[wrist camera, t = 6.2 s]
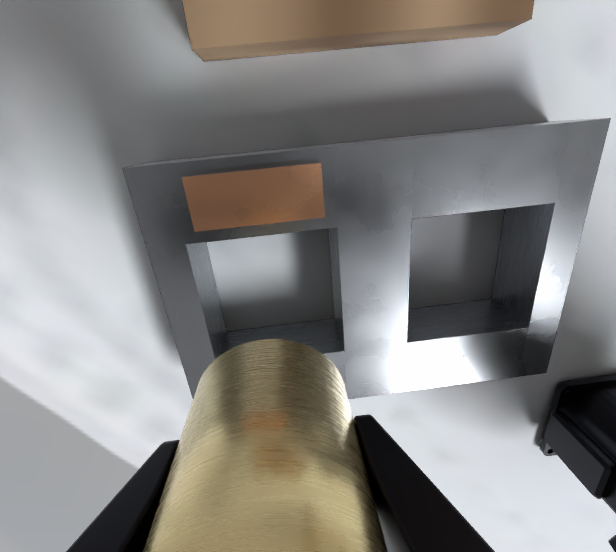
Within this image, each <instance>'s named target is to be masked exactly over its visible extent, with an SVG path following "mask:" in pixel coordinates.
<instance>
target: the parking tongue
mask: <svg viewBox="0 0 616 552" xmlns="http://www.w3.org/2000/svg"><path fill="white" fill-rule="evenodd" d="M182 2H183V7H184V12H185V17H186V22H187V27H188V33H189V38H190V43H191V48H192V50H193V51H194V52H195V53H196V54H197V55H198V56H199V57H200V58H201V59H202V60H203V61H216V60H227V59H238V58H249V57H260V56H271V55H282V54H293V53H304V52H315V51H326V50H337V49H348V48H360V47H371V46H382V45H393V44H404V43H415V42H426V41H437V40H448V39H459V38H470V37H481V36H492V35H498V34H500V33H502V32H505V31H507V30H509V29H511V28H513V27H515V26H517V25H520V24H522V23H524V22H526V21H528V20H530V19H532V12H533V5H534V0H182Z"/></svg>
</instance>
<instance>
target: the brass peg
mask: <svg viewBox="0 0 616 552" xmlns="http://www.w3.org/2000/svg"><path fill="white" fill-rule="evenodd" d="M143 552H388V550H387V546H386V543H385V539H384V535H383V531H382V527H381V523H380V520H379V516H378V512H377V508H376V504H375V500H374V497H373V493H372V489H371V485H370V481H369V478H368V474H367V470H366V466H365V463H364V459H363V455H362V451H361V447H360V443H359V440H358V436H357V432H356V428H355V424H354V420H353V416H352V412H351V408H350V405H349V401H348V397H347V393H346V389H345V385H344V382H343V379H342V376H341V375H340V373H339V371H338V369H337V368H336V366H335V365H334V364H333V363H332V362H331V361H330V360H329V359H328V358H327V357H326V356H325V355H323V354H322V353H321V352H319V351H317V350H315V349H314V348H312V347H309V346H307V345H305V344H302V343H298V342H295V341H289V340H283V339H264V340H257V341H251V342H248V343H244V344H241V345H239V346H236V347H234V348H232V349H230V350H228V351H226V352H225V353H223V354H222V355H220V356H219V357H218V358H216V359H215V360H214V361H213V362H212V363H211V364H210V365H209V366H208V368H207V369H206V370H205V372H204V373H203V375H202V377H201V379H200V381H199V384H198V387H197V390H196V393H195V396H194V399H193V402H192V405H191V408H190V411H189V414H188V417H187V420H186V423H185V426H184V429H183V432H182V435H181V438H180V441H179V444H178V447H177V450H176V454H175V457H174V460H173V463H172V466H171V469H170V472H169V475H168V478H167V481H166V484H165V487H164V490H163V493H162V496H161V499H160V502H159V505H158V508H157V511H156V514H155V517H154V520H153V523H152V526H151V529H150V532H149V535H148V538H147V541H146V544H145V547H144V550H143Z"/></svg>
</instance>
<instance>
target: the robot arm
mask: <svg viewBox="0 0 616 552" xmlns="http://www.w3.org/2000/svg"><path fill="white" fill-rule="evenodd" d="M354 424H355V428H356V432H357V436H358V440H359V443H360V447H361V451H362V455H363V459H364V463H365V466H366V470H367V474H368V478H369V481H370V485H371V489H372V493H373V497H374V500H375V504H376V508H377V512H378V516H379V520H380V523H381V527H382V531H383V535H384V539H385V543H386V546H387V550H388V552H495V551H494V550H493V549H492V548H491V547H490V546H489V545H488V544H487V542H486V541H485V540H484V539H483V538H482V537H481V536H480V535H479V534H478V532H477V531H476V530H475V529H474V528H473V527H472V526H471V525H470V524H469V523H468V521H467V520H466V519H465V518H464V517H463V516H462V515H461V514H460V513H459V511H458V510H457V509H456V508H455V507H454V506H453V505H452V504H451V503H450V502H449V500H448V499H447V498H446V497H445V496H444V495H443V494H442V493H441V492H440V490H439V489H438V488H437V487H436V486H435V485H434V484H433V483H432V482H431V480H430V479H429V478H428V477H427V476H426V475H425V474H424V473H423V472H422V471H421V469H420V468H419V467H418V466H417V465H416V464H415V463H414V462H413V461H412V459H411V458H410V457H409V456H408V455H407V454H406V453H405V452H404V451H403V449H402V448H401V447H400V446H399V445H398V444H397V443H396V442H395V441H394V440H393V438H392V437H391V436H390V435H389V434H388V433H387V432H386V431H385V430H384V428H383V427H382V426H381V425H380V424H379V423H378V422H377V421H376V420H375V419H374V417H373V416H371V415H361V416H356V417H355V418H354ZM179 441H180V440H174V441H167V442H164V443H162V444H161V445H160V446H159V447H158V448H157V449H156V451H155V452H154V453H153V454H152V455H151V456H150V457H149V458H148V460H147V461H146V462H145V463H144V464H143V465H142V466H141V468H140V469H139V470H138V471H137V472H136V473H135V474H134V476H133V477H132V478H131V479H130V480H129V481H128V482H127V483H126V484H125V486H124V487H123V488H122V489H121V490H120V491H119V493H118V494H117V495H116V496H115V497H114V498H113V499H112V500H111V501H110V503H109V504H108V505H107V506H106V507H105V508H104V509H103V511H102V512H101V513H100V514H99V515H98V516H97V517H96V518H95V520H94V521H93V522H92V523H91V524H90V525H89V526H88V527H87V529H86V530H85V531H84V532H83V533H82V534H81V536H80V537H79V538H78V539H77V540H76V541H75V542H74V543H73V544H72V546H71V547H70V548H69V549H68V550H67V551H66V552H143V550H144V547H145V544H146V541H147V538H148V535H149V532H150V529H151V526H152V523H153V520H154V517H155V514H156V511H157V508H158V505H159V502H160V499H161V496H162V493H163V490H164V487H165V484H166V481H167V478H168V475H169V472H170V469H171V466H172V463H173V460H174V457H175V454H176V450H177V447H178V444H179ZM540 450H541V451H542V452H543V453H544V455H546V456H552V455H558V456H559V458H560V459H561V460H562V461H563V462H564V463H565V464H566V466H567V467H568V468H569V469H570V470H571V471H572V472H573V473H574V475H575V476H576V477H577V478H578V479H579V480H580V481H581V483H582V484H583V485H584V486H585V487H586V488H587V489H588V491H589V492H590V493H591V494H592V495H593V496H594V497H596V498H598V499H601V498H602V499H603V500H604V501H605V502H606V503H607V504H608V505H609V506H610V508H611V509H612V510H613V511H614V512H615V513H616V375H609V376H602V377H594V378H587V379H580V380H572V381H565V382H562V383H560V384H559V385H558V386H557V388H556V391H555V394H554V398H553V401H552V405H551V409H550V412H549V416H548V420H547V423H546V427H545V431H544V434H543V438H542V441H541V445H540ZM609 543H610V545H611V546H612V548H613V549H614V551H615V552H616V535H615V536H613V537H612V538H611V539H610V540H609Z"/></svg>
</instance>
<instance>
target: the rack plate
mask: <svg viewBox="0 0 616 552" xmlns="http://www.w3.org/2000/svg"><path fill="white" fill-rule="evenodd" d="M610 119H611V118H604V119H587V120H569V121H551V122H541V123H531V124H521V125H511V126H501V127H492V128H482V129H472V130H462V131H452V132H443V133H433V134H423V135H413V136H403V137H393V138H384V139H374V140H364V141H354V142H344V143H334V144H325V145H315V146H305V147H295V148H285V149H276V150H266V151H256V152H246V153H236V154H226V155H217V156H207V157H197V158H187V159H177V160H168V161H158V162H150V163H145V164H140V165H135V166H130V167H125V168H122V169H123V172H124V175H125V179H126V182H127V185H128V188H129V192H130V195H131V198H132V201H133V205H134V208H135V211H136V215H137V218H138V221H139V224H140V228H141V231H142V234H143V237H144V241H145V244H146V247H147V250H148V254H149V257H150V260H151V264H152V267H153V270H154V273H155V277H156V280H157V283H158V286H159V290H160V293H161V296H162V300H163V303H164V306H165V309H166V313H167V316H168V319H169V322H170V326H171V329H172V332H173V335H174V339H175V342H176V345H177V349H178V352H179V355H180V358H181V362H182V365H183V368H184V371H185V375H186V378H187V381H188V385H189V388H190V391H191V394H192V398H193V399H194V396H195V393H196V390H197V387H198V384H199V381H200V379H201V377H202V375H203V373H204V372H205V370H206V369H207V368H208V366H209V365H210V364H211V363H212V362H213V361H214V360H215V359H216V358H218V357H219V356H220V355H222V354H223V353H225V352H226V351H228V350H230V349H232V348H234V347H236V346H239V345H241V344H244V343H248V342H251V341H257V340H264V339H283V340H289V341H295V342H298V343H302V344H305V345H307V346H309V347H312V348H314V349H315V350H317V351H319V352H321V353H322V354H323V355H325V356H326V357H327V358H328V359H329V360H330V361H331V362H332V363H333V364H334V365H335V366H336V368H337V369H338V371H339V373H340V375H341V376H342V379H343V382H344V385H345V389H346V393H347V397H348V399H354V398H361V397H369V396H376V395H384V394H391V393H399V392H406V391H414V390H421V389H429V388H436V387H444V386H451V385H458V384H466V383H473V382H481V381H488V380H496V379H503V378H511V377H518V376H526V375H533V374H541V373H546V372H547V368H548V364H549V360H550V356H551V352H552V348H553V344H554V340H555V336H556V333H557V329H558V325H559V321H560V317H561V313H562V309H563V305H564V301H565V297H566V293H567V289H568V285H569V281H570V277H571V273H572V269H573V265H574V262H575V258H576V254H577V250H578V246H579V242H580V238H581V234H582V230H583V226H584V222H585V218H586V214H587V210H588V206H589V202H590V198H591V194H592V191H593V187H594V183H595V179H596V175H597V171H598V167H599V163H600V159H601V155H602V151H603V147H604V143H605V139H606V135H607V131H608V127H609V123H610ZM496 209H505V214H504V220H503V227H502V233H501V240H500V247H499V253H498V260H497V266H496V273H495V280H494V286H493V293H492V299H488V300H480V301H472V302H463V303H455V304H447V305H439V306H431V307H423V308H415V309H408V302H409V275H410V247H411V219H416V218H425V217H434V216H443V215H452V214H460V213H469V212H478V211H487V210H496ZM327 228H328V229H329V243H330V258H331V273H332V287H333V302H334V317H335V318H334V319H326V320H318V321H309V322H301V323H293V324H285V325H277V326H269V327H261V328H253V329H245V330H237V331H228V332H226V327H225V323H224V318H223V314H222V310H221V305H220V301H219V296H218V292H217V288H216V283H215V279H214V274H213V270H212V266H211V261H210V257H209V252H208V248H207V244H206V242H211V241H220V240H229V239H238V238H247V237H256V236H264V235H273V234H282V233H291V232H300V231H309V230H318V229H327Z"/></svg>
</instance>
